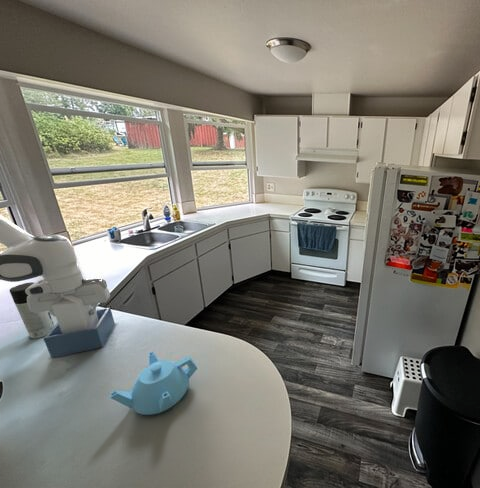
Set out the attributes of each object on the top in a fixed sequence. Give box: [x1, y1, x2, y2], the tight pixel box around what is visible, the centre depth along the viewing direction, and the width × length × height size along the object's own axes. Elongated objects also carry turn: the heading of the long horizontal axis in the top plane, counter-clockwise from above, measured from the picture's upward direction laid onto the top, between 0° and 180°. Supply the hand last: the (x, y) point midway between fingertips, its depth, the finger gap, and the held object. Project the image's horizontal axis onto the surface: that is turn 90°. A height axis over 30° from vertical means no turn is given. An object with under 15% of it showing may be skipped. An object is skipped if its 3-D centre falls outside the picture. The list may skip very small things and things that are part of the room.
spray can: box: [9, 282, 56, 339], centre depth 91 cm, size 7×7×20 cm
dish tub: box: [42, 307, 116, 358], centre depth 90 cm, size 14×14×8 cm
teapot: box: [109, 351, 198, 416], centre depth 70 cm, size 15×15×11 cm
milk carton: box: [52, 293, 99, 334], centre depth 88 cm, size 7×7×19 cm
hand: (77, 316), depth 88 cm, fingers closed on milk carton, 7 cm apart
